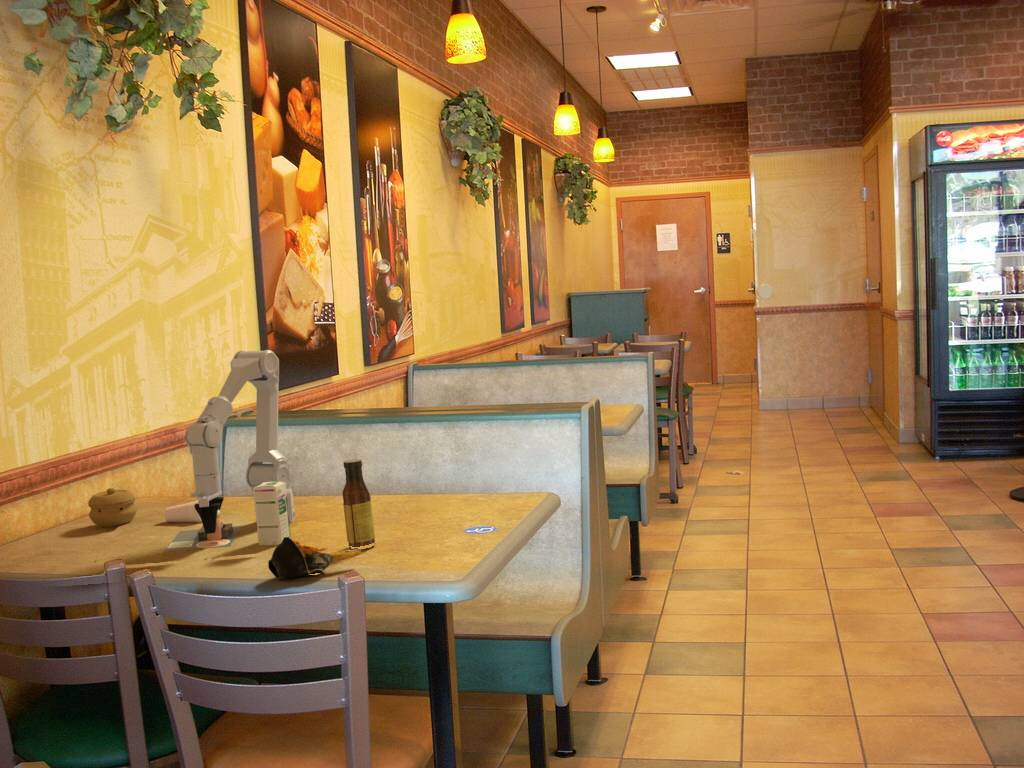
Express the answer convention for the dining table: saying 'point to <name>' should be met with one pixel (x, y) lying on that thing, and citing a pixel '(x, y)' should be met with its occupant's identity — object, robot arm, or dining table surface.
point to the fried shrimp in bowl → (303, 559)
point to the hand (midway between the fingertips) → (211, 531)
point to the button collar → (225, 532)
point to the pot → (112, 508)
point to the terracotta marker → (217, 534)
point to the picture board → (190, 541)
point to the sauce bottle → (357, 506)
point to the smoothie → (183, 513)
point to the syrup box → (271, 512)
